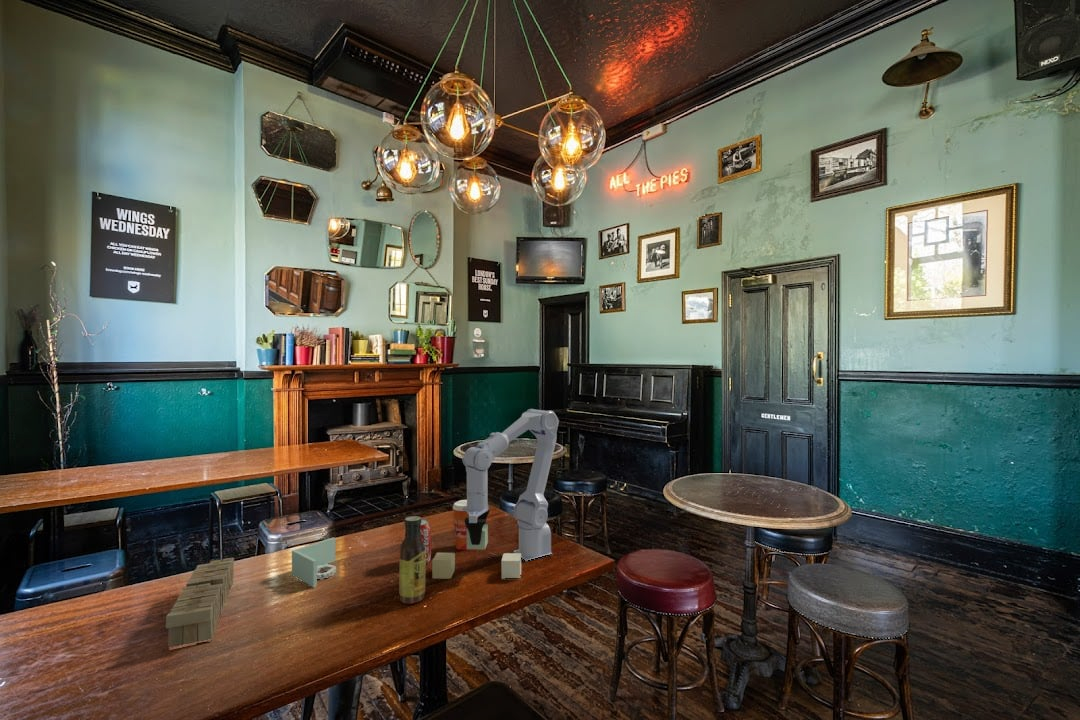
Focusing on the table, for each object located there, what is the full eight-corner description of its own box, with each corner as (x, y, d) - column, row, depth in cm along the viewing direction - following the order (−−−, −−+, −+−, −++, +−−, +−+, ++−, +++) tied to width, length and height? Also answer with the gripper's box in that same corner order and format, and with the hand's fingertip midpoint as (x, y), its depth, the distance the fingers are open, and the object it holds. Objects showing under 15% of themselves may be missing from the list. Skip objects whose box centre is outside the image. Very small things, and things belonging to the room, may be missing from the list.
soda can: (434, 558, 139) (433, 518, 139) (426, 568, 132) (425, 526, 132) (411, 557, 140) (411, 517, 140) (402, 567, 133) (401, 525, 133)
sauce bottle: (418, 606, 111) (417, 524, 111) (394, 604, 113) (394, 522, 113) (430, 593, 118) (429, 515, 118) (407, 591, 119) (407, 513, 119)
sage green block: (487, 542, 131) (487, 524, 131) (485, 549, 126) (485, 530, 126) (470, 542, 131) (470, 524, 131) (466, 549, 126) (466, 530, 126)
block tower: (198, 595, 119) (163, 656, 93) (198, 562, 120) (163, 614, 93) (234, 589, 123) (210, 646, 96) (234, 557, 123) (211, 605, 97)
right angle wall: (313, 590, 121) (313, 561, 121) (291, 577, 128) (291, 550, 128) (356, 573, 130) (355, 546, 130) (333, 562, 138) (333, 537, 138)
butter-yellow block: (454, 570, 131) (454, 552, 131) (450, 578, 126) (450, 560, 126) (437, 570, 131) (437, 552, 131) (432, 578, 126) (432, 560, 126)
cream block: (521, 571, 130) (521, 553, 130) (520, 579, 125) (519, 561, 125) (503, 571, 130) (503, 553, 130) (501, 579, 125) (501, 560, 125)
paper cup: (448, 550, 145) (448, 505, 145) (459, 541, 152) (459, 498, 152) (471, 553, 143) (470, 507, 143) (481, 543, 150) (481, 500, 150)
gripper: (467, 484, 136) (468, 530, 136) (457, 498, 121) (457, 550, 121) (491, 484, 135) (492, 530, 135) (484, 498, 121) (484, 551, 121)
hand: (477, 540), depth 128 cm, fingers closed on sage green block, 5 cm apart
